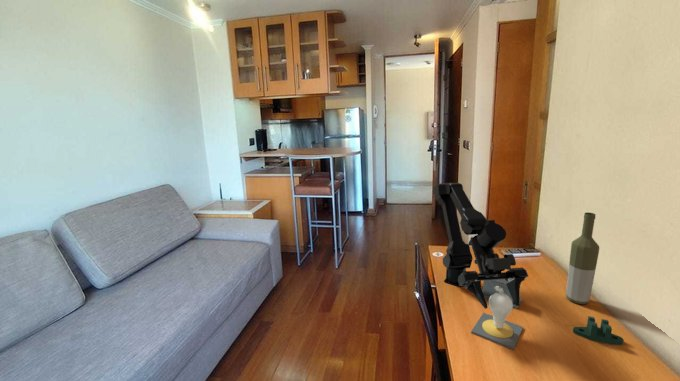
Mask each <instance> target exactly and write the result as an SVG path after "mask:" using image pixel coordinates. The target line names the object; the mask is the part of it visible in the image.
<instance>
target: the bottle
mask: <svg viewBox="0 0 680 381" xmlns="http://www.w3.org/2000/svg"><path fill="white" fill-rule="evenodd" d="M595 220H596V213H593V212H589V211H588V212H584V214H583V221H582V222H583V224H582V231H581V235H580V236H579V237H577V238H576V239H574V240H573V241H572V242H571V246H570V254H569V262H568V271H567V272H568V273H567V281H566V288H565V296H566V298H567V300H568V301H570V302H573V303H575V304H578V305H579V304H580V305H586V304H588V303H589V302H590V300H591V296H592V290H593V285H594V279H595V275H596V269H597V264H598V260H599V254H600V253H599V252H600V245H599V244H598V243H597V242H596V240H595V239H594V238H593V232H594V226H595Z"/></svg>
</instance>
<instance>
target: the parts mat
mask: <svg viewBox="0 0 680 381" xmlns="http://www.w3.org/2000/svg"><path fill="white" fill-rule="evenodd" d="M523 330H524V326H522V325H519V324H516V323H513V322H511V321H509V320H506V319H505V322H504V326H503V328H501V329H498V328H496V327H495V326H494V319H493V314H492V315H490V314H488V313H486V312H482V314H481V316H480V318H479V319H478V320H477V322H476V323H475V324H474V326H473V328H472V329H471V331H470V333H471V334H473V335H476V336H478V337H480V338H482V339H485V340H488V341H490V342H493V343H495V344H498V345H500V346H503V347H504V348H505V347H506V348H508V349H510V350H513V351H514V350H515V348H516V346H517V342H518V341H519V338H520V336H521V335H522V332H523Z"/></svg>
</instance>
